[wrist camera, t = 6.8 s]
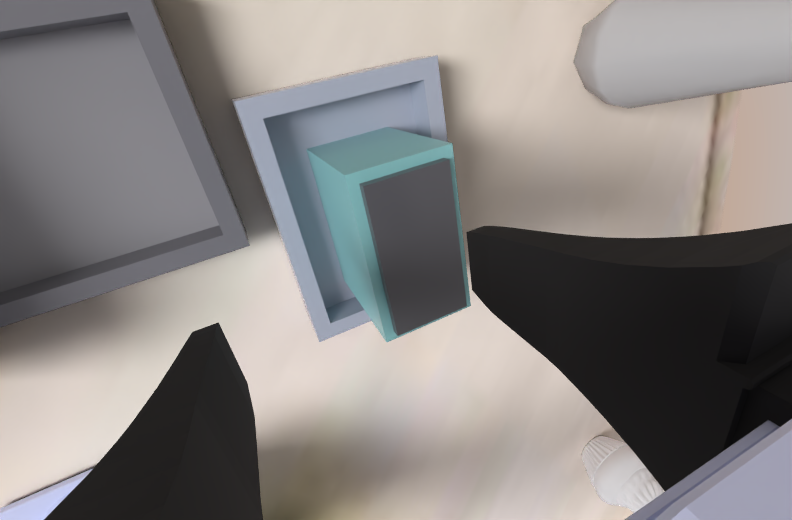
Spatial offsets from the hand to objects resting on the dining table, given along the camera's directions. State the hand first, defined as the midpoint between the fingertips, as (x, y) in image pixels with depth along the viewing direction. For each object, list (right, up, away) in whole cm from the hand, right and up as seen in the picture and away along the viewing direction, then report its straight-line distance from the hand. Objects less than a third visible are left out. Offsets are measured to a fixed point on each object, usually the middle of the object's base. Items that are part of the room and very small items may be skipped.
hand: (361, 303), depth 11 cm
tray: (-1, +4, +9) cm, 10 cm away
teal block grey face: (-1, +4, +9) cm, 10 cm away
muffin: (+21, -18, +30) cm, 41 cm away
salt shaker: (+13, +13, +12) cm, 22 cm away
